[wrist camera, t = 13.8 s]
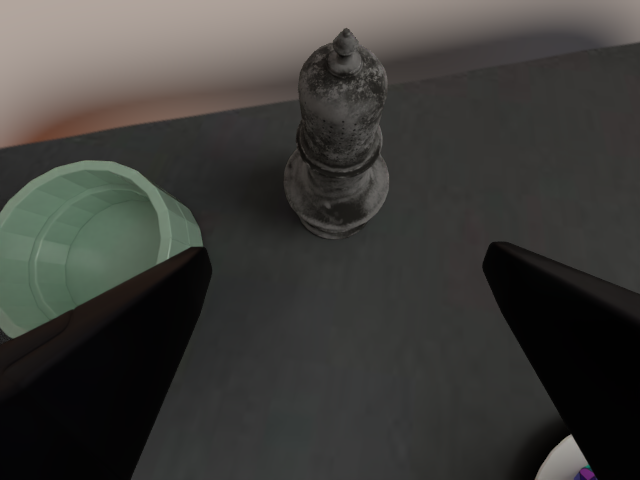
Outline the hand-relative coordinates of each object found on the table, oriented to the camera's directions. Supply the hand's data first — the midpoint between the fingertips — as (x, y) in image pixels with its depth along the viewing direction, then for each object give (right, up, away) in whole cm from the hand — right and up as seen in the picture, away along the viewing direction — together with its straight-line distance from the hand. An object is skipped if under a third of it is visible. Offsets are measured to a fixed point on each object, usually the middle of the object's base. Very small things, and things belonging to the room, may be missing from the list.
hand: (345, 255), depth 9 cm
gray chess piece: (0, +3, +10) cm, 10 cm away
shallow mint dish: (-13, -1, +9) cm, 16 cm away
